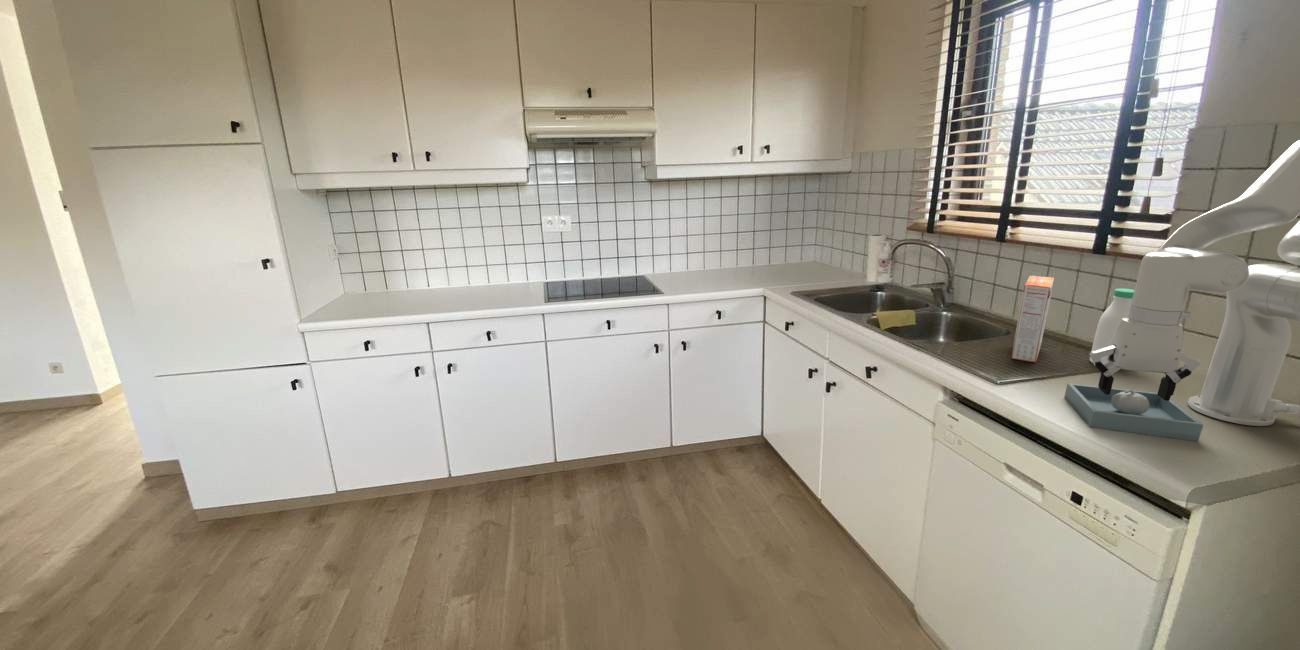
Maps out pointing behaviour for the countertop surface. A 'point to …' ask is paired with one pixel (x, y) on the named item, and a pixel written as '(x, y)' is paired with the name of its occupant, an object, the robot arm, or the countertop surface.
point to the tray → (1155, 421)
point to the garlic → (1130, 402)
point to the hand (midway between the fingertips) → (1133, 395)
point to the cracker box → (1032, 318)
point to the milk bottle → (1112, 320)
